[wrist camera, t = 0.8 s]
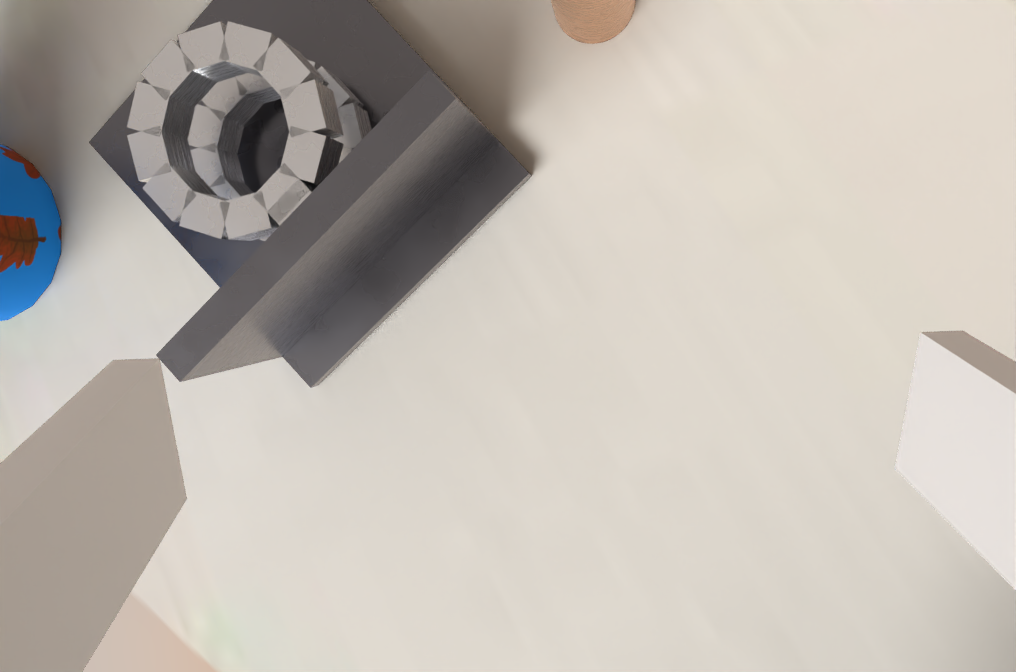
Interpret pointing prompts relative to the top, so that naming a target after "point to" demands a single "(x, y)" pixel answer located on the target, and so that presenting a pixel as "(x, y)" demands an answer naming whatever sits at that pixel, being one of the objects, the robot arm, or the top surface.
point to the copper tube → (593, 18)
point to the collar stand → (302, 176)
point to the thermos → (25, 234)
